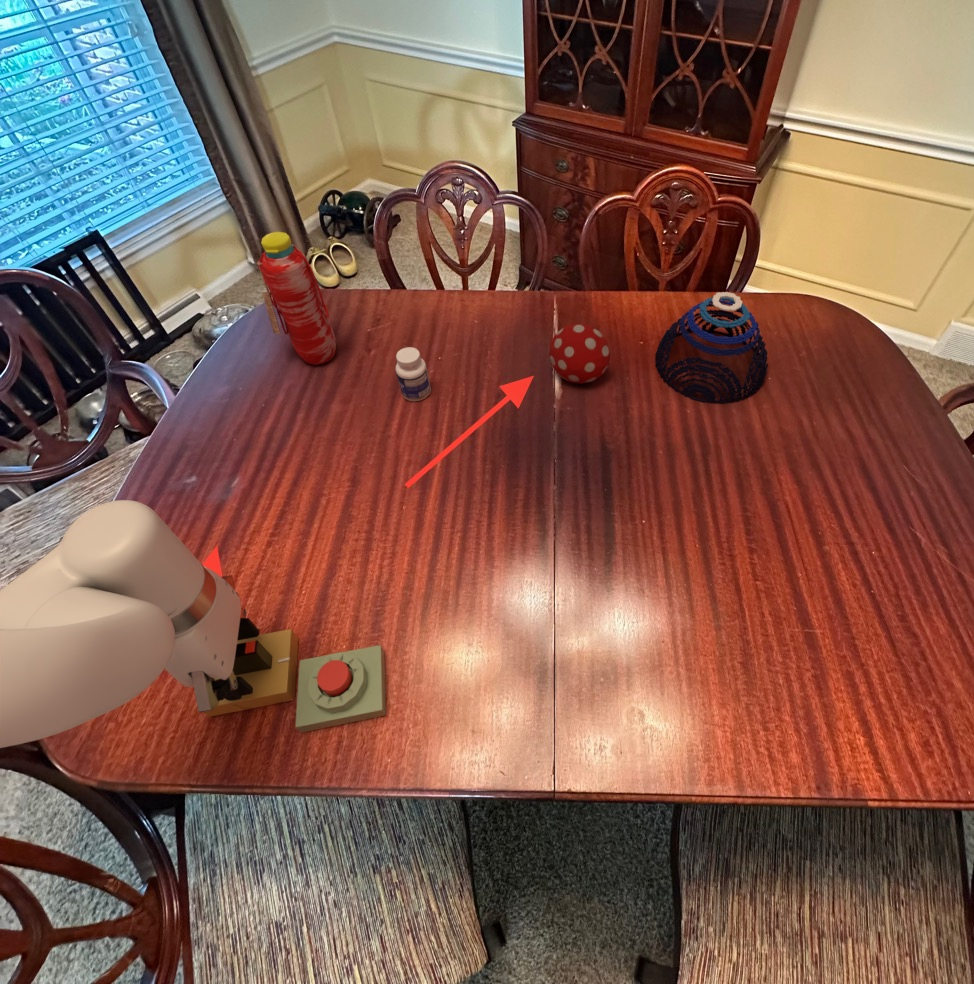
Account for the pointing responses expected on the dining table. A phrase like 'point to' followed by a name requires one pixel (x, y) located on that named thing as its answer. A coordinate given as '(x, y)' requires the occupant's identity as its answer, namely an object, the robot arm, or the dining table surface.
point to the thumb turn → (251, 658)
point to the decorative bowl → (714, 350)
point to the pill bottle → (412, 374)
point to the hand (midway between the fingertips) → (242, 663)
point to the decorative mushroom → (579, 353)
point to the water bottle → (296, 299)
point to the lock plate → (268, 675)
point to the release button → (334, 677)
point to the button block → (351, 705)
